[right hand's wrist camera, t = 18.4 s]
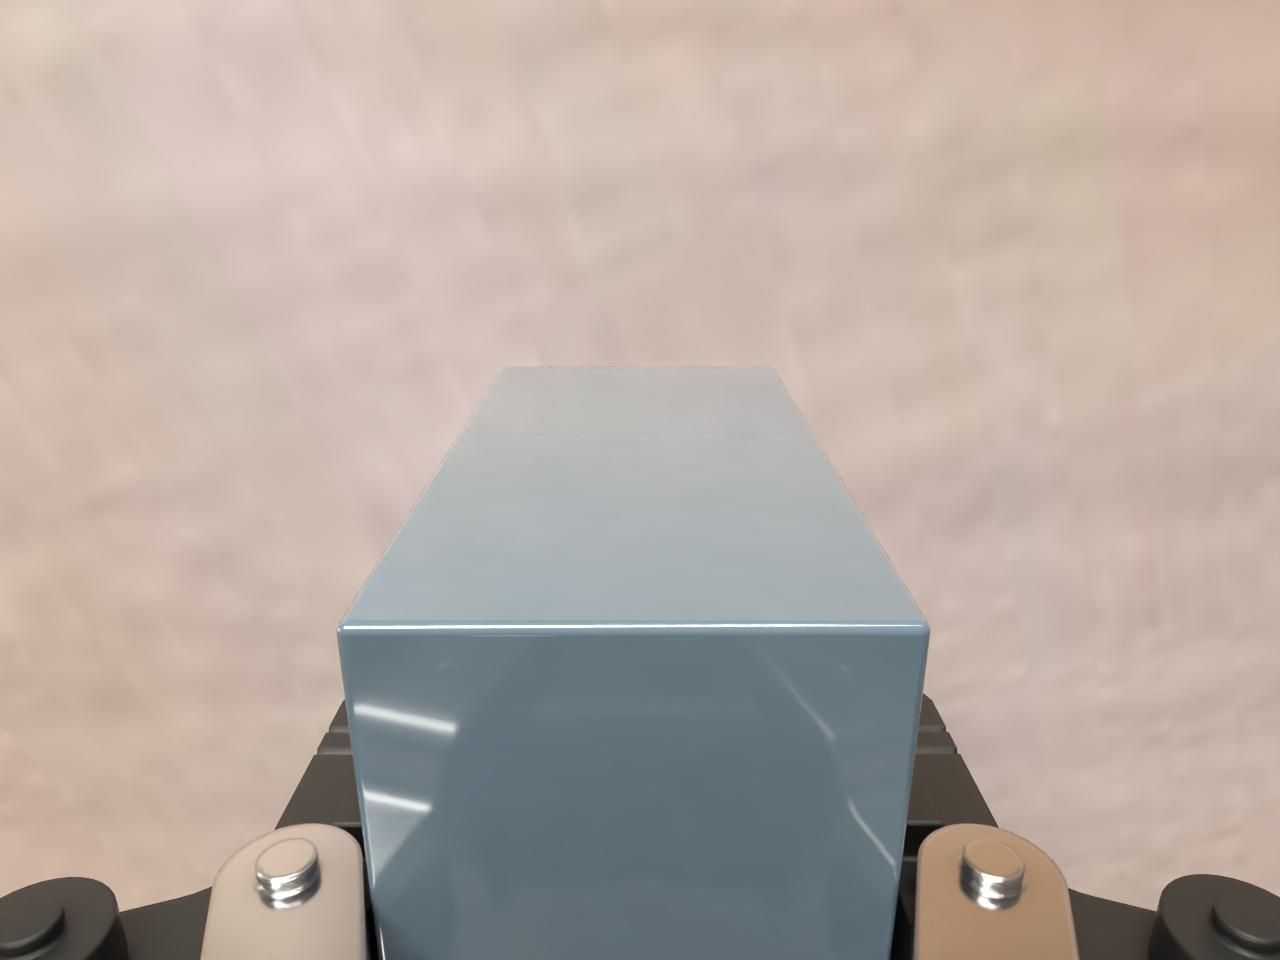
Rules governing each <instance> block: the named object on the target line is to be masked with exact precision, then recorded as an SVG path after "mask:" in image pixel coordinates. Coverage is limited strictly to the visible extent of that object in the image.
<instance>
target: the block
mask: <svg viewBox="0 0 1280 960" xmlns="http://www.w3.org/2000/svg"><path fill="white" fill-rule="evenodd" d="M336 631H337V639H338V647H339V655H340V662H341V670H342V678H343V686H344V694H345V701H346V709H347V717H348V725H349V732H350V740H351V748H352V756H353V763H354V771H355V779H356V787H357V794H358V802H359V810H360V818H361V825H362V833H363V841H364V849H365V857H366V864H367V872H368V880H369V888H370V895H371V903H372V911H373V919H374V926H375V934H376V942H377V950H378V957H379V960H890V957H891V949H892V941H893V933H894V925H895V917H896V908H897V900H898V892H899V884H900V876H901V868H902V859H903V851H904V843H905V835H906V827H907V819H908V810H909V802H910V794H911V786H912V778H913V770H914V761H915V753H916V745H917V737H918V729H919V721H920V712H921V704H922V696H923V688H924V680H925V672H926V663H927V655H928V647H929V639H930V631H931V630H930V627H929V625H928V622H927V620H926V619H925V617H924V616H923V614H922V612H921V611H920V609H919V607H918V606H917V604H916V602H915V601H914V599H913V597H912V596H911V594H910V592H909V591H908V589H907V587H906V586H905V584H904V582H903V581H902V579H901V577H900V576H899V574H898V573H897V571H896V569H895V568H894V566H893V564H892V563H891V561H890V559H889V558H888V556H887V554H886V553H885V551H884V549H883V548H882V546H881V544H880V543H879V541H878V539H877V538H876V536H875V534H874V533H873V531H872V529H871V528H870V526H869V525H868V523H867V521H866V520H865V518H864V516H863V515H862V513H861V511H860V510H859V508H858V506H857V505H856V503H855V501H854V500H853V498H852V496H851V495H850V493H849V491H848V490H847V488H846V486H845V485H844V483H843V481H842V480H841V478H840V477H839V475H838V473H837V472H836V470H835V468H834V467H833V465H832V463H831V462H830V460H829V458H828V457H827V455H826V453H825V452H824V450H823V448H822V447H821V445H820V443H819V442H818V440H817V438H816V437H815V435H814V433H813V432H812V430H811V429H810V427H809V425H808V424H807V422H806V420H805V419H804V417H803V415H802V414H801V412H800V410H799V409H798V407H797V405H796V404H795V402H794V400H793V399H792V397H791V395H790V394H789V392H788V390H787V389H786V387H785V386H784V384H783V382H782V381H781V379H780V377H779V376H778V374H777V372H776V371H775V369H774V368H772V367H503V368H501V369H500V370H499V372H498V373H497V375H496V377H495V378H494V380H493V381H492V383H491V384H490V386H489V388H488V389H487V391H486V392H485V394H484V395H483V397H482V399H481V400H480V402H479V403H478V405H477V406H476V408H475V410H474V411H473V413H472V414H471V416H470V417H469V419H468V421H467V422H466V424H465V425H464V427H463V428H462V430H461V432H460V433H459V435H458V436H457V438H456V439H455V441H454V443H453V444H452V446H451V447H450V449H449V450H448V452H447V454H446V455H445V457H444V458H443V460H442V461H441V463H440V465H439V466H438V468H437V469H436V471H435V472H434V474H433V476H432V477H431V479H430V480H429V482H428V483H427V485H426V487H425V488H424V490H423V491H422V493H421V494H420V496H419V498H418V499H417V501H416V502H415V504H414V506H413V507H412V509H411V510H410V512H409V513H408V515H407V517H406V518H405V520H404V521H403V523H402V524H401V526H400V528H399V529H398V531H397V532H396V534H395V535H394V537H393V539H392V540H391V542H390V543H389V545H388V546H387V548H386V550H385V551H384V553H383V554H382V556H381V557H380V559H379V561H378V562H377V564H376V565H375V567H374V568H373V570H372V572H371V573H370V575H369V576H368V578H367V579H366V581H365V583H364V584H363V586H362V587H361V589H360V590H359V592H358V594H357V595H356V597H355V598H354V600H353V601H352V603H351V605H350V606H349V608H348V609H347V611H346V612H345V614H344V616H343V617H342V619H341V620H340V622H339V624H338V627H337V630H336Z"/></svg>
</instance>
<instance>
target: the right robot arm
mask: <svg viewBox="0 0 1280 960" xmlns="http://www.w3.org/2000/svg"><path fill="white" fill-rule="evenodd" d="M0 960H379V957H378V950H377V942H376V934H375V926H374V919H373V911H372V903H371V895H370V888H369V880H368V872H367V864H366V857H365V849H364V841H363V833H362V825H361V818H360V810H359V802H358V794H357V787H356V779H355V771H354V763H353V756H352V748H351V740H350V732H349V725H348V717H347V709H346V701H345V700H344V701H343V702H342V704H341V706H340V708H339V710H338V712H337V713H336V715H335V717H334V719H333V721H332V723H331V725H330V727H329V733H326V734H325V736H324V738H323V740H322V742H321V743H320V745H319V747H318V749H317V755H314V757H313V758H312V760H311V762H310V764H309V766H308V768H307V770H306V772H305V773H304V775H303V777H302V779H301V781H300V783H299V785H298V787H297V788H296V790H295V792H294V794H293V796H292V798H291V800H290V802H289V803H288V805H287V807H286V809H285V811H284V813H283V815H282V816H281V818H280V820H279V822H278V824H277V826H276V828H275V830H274V831H271V832H268V833H266V834H264V835H262V836H260V837H258V838H256V839H254V840H252V841H251V842H249V843H247V844H246V845H244V846H243V847H242V848H240V849H239V850H238V851H236V852H235V853H234V854H233V855H232V856H231V857H230V858H229V859H228V860H227V861H226V862H225V864H224V865H223V866H222V868H221V869H220V870H219V872H218V874H217V876H216V878H215V880H214V883H213V886H212V887H210V888H207V889H205V890H202V891H199V892H197V893H194V894H191V895H187V896H184V897H181V898H177V899H173V900H168V901H164V902H160V903H156V904H152V905H148V906H143V907H139V908H135V909H131V910H127V911H123V912H119V908H118V904H117V901H116V898H115V895H114V893H113V892H112V890H111V889H110V888H109V887H108V886H106V885H105V884H103V883H102V882H99V881H97V880H94V879H89V878H83V877H66V878H57V879H52V880H47V881H43V882H39V883H36V884H33V885H30V886H27V887H24V888H22V889H19V890H17V891H14V892H12V893H10V894H8V895H6V896H4V897H2V898H0ZM890 960H1280V897H1278V896H1276V895H1274V894H1272V893H1270V892H1268V891H1266V890H1264V889H1262V888H1260V887H1257V886H1255V885H1252V884H1250V883H1247V882H1243V881H1240V880H1237V879H1233V878H1229V877H1224V876H1218V875H1209V874H1195V875H1189V876H1183V877H1181V878H1178V879H1175V880H1174V881H1172V882H1171V883H1169V884H1168V885H1167V886H1166V887H1165V888H1164V890H1163V891H1162V894H1161V897H1160V900H1159V904H1158V908H1157V912H1156V911H1152V910H1148V909H1144V908H1140V907H1135V906H1131V905H1127V904H1123V903H1119V902H1115V901H1110V900H1106V899H1102V898H1098V897H1094V896H1090V895H1087V894H1083V893H1080V892H1077V891H1075V890H1072V889H1069V888H1068V887H1067V883H1066V880H1065V878H1064V876H1063V874H1062V872H1061V870H1060V869H1059V867H1058V866H1057V865H1056V864H1055V862H1054V861H1053V860H1052V859H1051V858H1050V857H1049V856H1048V855H1047V854H1046V853H1045V852H1044V851H1042V850H1041V849H1040V848H1038V847H1037V846H1036V845H1034V844H1033V843H1031V842H1029V841H1028V840H1026V839H1024V838H1022V837H1020V836H1018V835H1016V834H1014V833H1012V832H1009V831H1006V830H1003V829H1000V828H999V827H998V825H997V823H996V822H995V820H994V818H993V816H992V814H991V812H990V810H989V808H988V806H987V804H986V803H985V801H984V799H983V797H982V795H981V793H980V791H979V789H978V787H977V785H976V783H975V782H974V780H973V778H972V776H971V774H970V772H969V770H968V768H967V766H966V764H965V762H964V761H963V759H962V757H961V755H960V754H957V747H956V745H955V743H954V742H953V740H952V738H951V736H950V734H949V732H946V726H945V724H944V722H943V721H942V719H941V717H940V715H939V713H938V711H937V709H936V707H935V705H934V703H933V702H932V700H931V699H930V698H928V697H927V696H926V695H925V694H923V696H922V704H921V712H920V721H919V729H918V737H917V745H916V753H915V761H914V770H913V778H912V786H911V794H910V802H909V810H908V819H907V827H906V835H905V843H904V851H903V859H902V868H901V876H900V884H899V892H898V900H897V908H896V917H895V925H894V933H893V941H892V949H891V957H890Z"/></svg>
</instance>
